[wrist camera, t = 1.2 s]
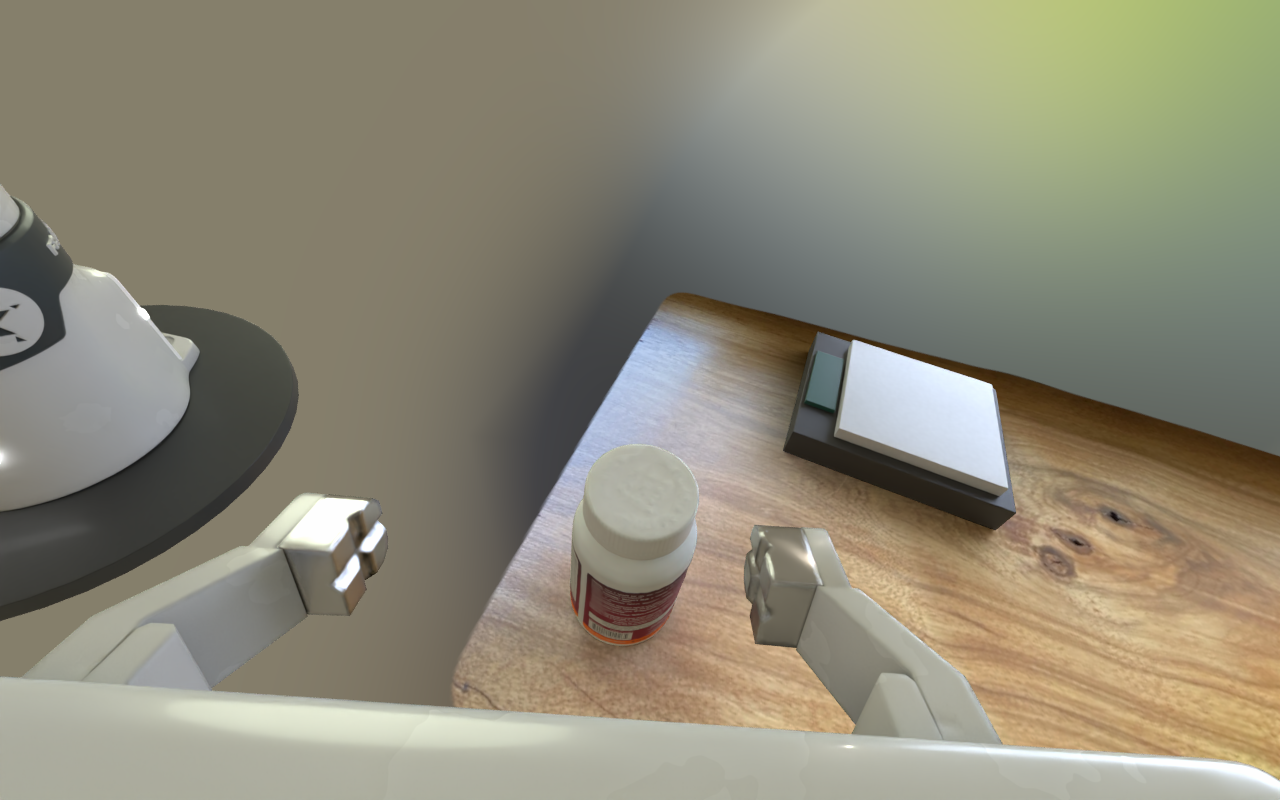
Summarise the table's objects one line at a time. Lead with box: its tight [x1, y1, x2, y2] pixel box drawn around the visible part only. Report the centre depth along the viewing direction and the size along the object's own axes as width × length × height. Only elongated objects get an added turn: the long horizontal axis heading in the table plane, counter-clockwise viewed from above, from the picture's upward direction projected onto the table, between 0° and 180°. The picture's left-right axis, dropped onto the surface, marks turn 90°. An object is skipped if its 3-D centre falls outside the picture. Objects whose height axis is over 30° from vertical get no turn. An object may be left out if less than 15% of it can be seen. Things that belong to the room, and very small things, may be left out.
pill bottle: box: [570, 444, 699, 646], centre depth 26 cm, size 6×6×11 cm
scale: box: [783, 332, 1016, 530], centre depth 42 cm, size 16×14×3 cm
